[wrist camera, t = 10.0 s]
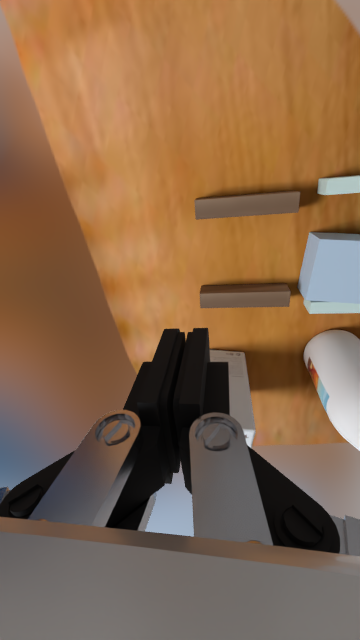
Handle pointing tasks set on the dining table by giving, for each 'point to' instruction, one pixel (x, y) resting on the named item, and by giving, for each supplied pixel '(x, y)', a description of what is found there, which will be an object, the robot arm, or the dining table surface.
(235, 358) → the skincare box
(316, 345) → the milk bottle
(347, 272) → the block
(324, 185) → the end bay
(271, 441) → the dining table surface
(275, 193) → the brown parallel rails
